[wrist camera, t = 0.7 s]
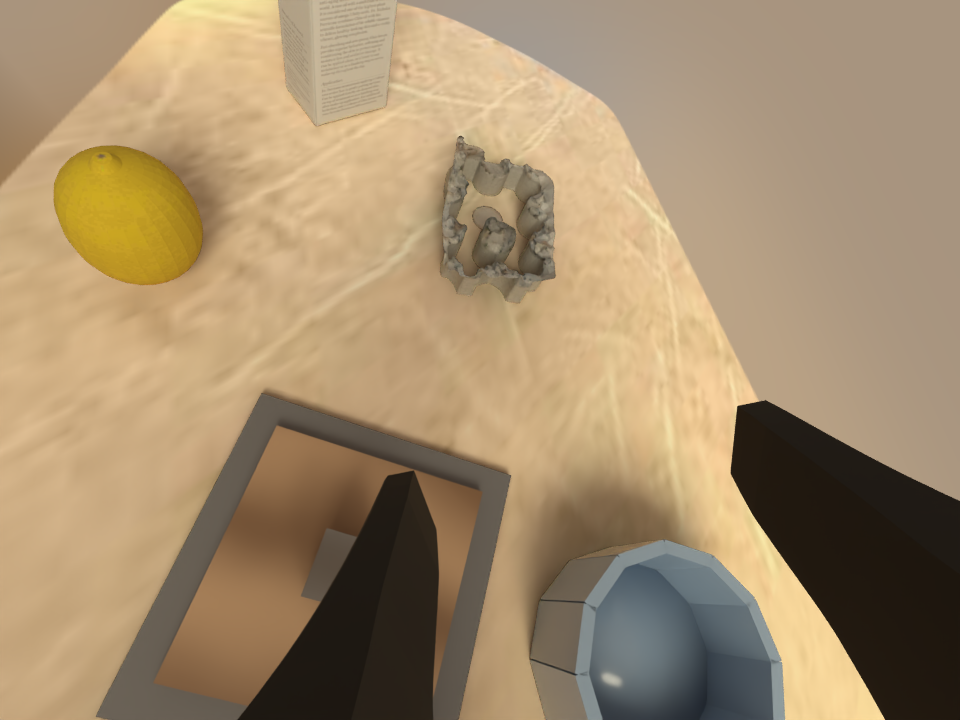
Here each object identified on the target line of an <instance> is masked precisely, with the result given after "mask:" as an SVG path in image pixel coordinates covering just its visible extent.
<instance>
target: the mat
mask: <svg viewBox="0 0 960 720" xmlns="http://www.w3.org/2000/svg"><path fill="white" fill-rule="evenodd" d="M276 426H280V427H283V428H286V429H290V430H293V431H296V432H299V433H302V434H305V435H308V436H311V437H314V438H317V439H321V440H324V441H327V442H330V443H333V444H336V445H339V446H342V447H345V448H348V449H352V450H355V451H358V452H361V453H364V454H367V455H370V456H373V457H376V458H379V459H383V460H386V461H389V462H392V463H395V464H398V465H401V466H404V467H407V468H410V469H414V470H417V471H420V472H423V473H426V474H429V475H432V476H435V477H438V478H441V479H445V480H448V481H451V482H454V483H457V484H460V485H463V486H466V487H469V488H472V489H476V490H479V491H482V492H483V493H482V497H481V501H480V505H479V509H478V513H477V518H476V522H475V526H474V530H473V534H472V538H471V542H470V547H469V551H468V555H467V559H466V563H465V567H464V572H463V576H462V580H461V584H460V588H459V592H458V597H457V601H456V605H455V609H454V613H453V617H452V621H451V626H450V630H449V634H448V638H447V642H446V646H445V651H444V655H443V659H442V663H441V667H440V671H439V676H438V680H437V684H436V688H435V692H434V696H433V720H458V719H459V715H460V710H461V705H462V701H463V696H464V691H465V687H466V682H467V677H468V673H469V668H470V664H471V659H472V654H473V650H474V645H475V640H476V636H477V631H478V626H479V622H480V617H481V613H482V608H483V603H484V599H485V594H486V589H487V585H488V580H489V575H490V571H491V566H492V562H493V557H494V552H495V548H496V543H497V538H498V534H499V529H500V524H501V520H502V515H503V510H504V506H505V501H506V497H507V492H508V487H509V483H510V478H511V475H508V474H505V473H502V472H499V471H496V470H493V469H490V468H487V467H484V466H481V465H478V464H475V463H472V462H469V461H466V460H463V459H460V458H457V457H454V456H451V455H448V454H445V453H441V452H438V451H435V450H432V449H429V448H426V447H423V446H420V445H417V444H414V443H411V442H408V441H405V440H402V439H399V438H396V437H393V436H390V435H387V434H384V433H381V432H378V431H375V430H372V429H369V428H366V427H363V426H360V425H357V424H354V423H351V422H348V421H345V420H342V419H339V418H336V417H332V416H329V415H326V414H323V413H320V412H317V411H314V410H311V409H308V408H305V407H302V406H299V405H296V404H293V403H290V402H287V401H284V400H281V399H278V398H275V397H272V396H269V395H266V394H263V393H262V394H261V396H260V398H259V400H258V401H257V403H256V405H255V407H254V409H253V411H252V413H251V415H250V417H249V419H248V421H247V423H246V425H245V427H244V429H243V431H242V433H241V435H240V437H239V438H238V440H237V442H236V444H235V446H234V448H233V450H232V452H231V454H230V456H229V458H228V460H227V462H226V464H225V466H224V468H223V470H222V472H221V474H220V475H219V477H218V479H217V481H216V483H215V485H214V487H213V489H212V491H211V493H210V495H209V497H208V499H207V501H206V503H205V505H204V507H203V509H202V510H201V512H200V514H199V516H198V518H197V520H196V522H195V524H194V526H193V528H192V530H191V532H190V534H189V536H188V538H187V540H186V542H185V544H184V546H183V547H182V549H181V551H180V553H179V555H178V557H177V559H176V561H175V563H174V565H173V567H172V569H171V571H170V573H169V575H168V577H167V579H166V581H165V583H164V584H163V586H162V588H161V590H160V592H159V594H158V596H157V598H156V600H155V602H154V604H153V606H152V608H151V610H150V612H149V614H148V616H147V618H146V619H145V621H144V623H143V625H142V627H141V629H140V631H139V633H138V635H137V637H136V639H135V641H134V643H133V645H132V647H131V649H130V651H129V653H128V655H127V656H126V658H125V660H124V662H123V664H122V666H121V668H120V670H119V672H118V674H117V676H116V678H115V680H114V682H113V684H112V686H111V688H110V690H109V691H108V693H107V695H106V697H105V699H104V701H103V703H102V705H101V707H100V709H99V711H98V713H97V715H96V717H100V718H104V719H108V720H237V719H238V718H239V717H240V715H241V714H242V713H243V712H244V710H245V709H246V708H247V707H248V706H246V705H242V704H238V703H233V702H229V701H225V700H221V699H217V698H213V697H209V696H204V695H200V694H196V693H192V692H188V691H184V690H179V689H175V688H171V687H167V686H163V685H159V684H155V683H153V682H154V680H155V678H156V676H157V674H158V672H159V670H160V667H161V665H162V663H163V661H164V659H165V657H166V655H167V653H168V651H169V649H170V647H171V645H172V642H173V640H174V638H175V636H176V634H177V632H178V630H179V628H180V626H181V624H182V622H183V620H184V617H185V615H186V613H187V611H188V609H189V607H190V605H191V603H192V601H193V599H194V597H195V595H196V592H197V590H198V588H199V586H200V584H201V582H202V580H203V578H204V576H205V574H206V572H207V570H208V567H209V565H210V563H211V561H212V559H213V557H214V555H215V553H216V551H217V549H218V547H219V545H220V542H221V540H222V538H223V536H224V534H225V532H226V530H227V528H228V526H229V524H230V522H231V520H232V517H233V515H234V513H235V511H236V509H237V507H238V505H239V503H240V501H241V499H242V497H243V495H244V492H245V490H246V488H247V486H248V484H249V482H250V480H251V478H252V476H253V474H254V472H255V470H256V467H257V465H258V463H259V461H260V459H261V457H262V455H263V453H264V451H265V449H266V447H267V444H268V442H269V440H270V438H271V436H272V434H273V432H274V430H275V428H276Z"/></svg>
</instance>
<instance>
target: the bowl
mask: <svg viewBox="0 0 960 720" xmlns="http://www.w3.org/2000/svg"><path fill="white" fill-rule="evenodd" d="M540 600H541V601H539V605H538V611H537V617H536V623H535V629H534V635H533V641H532V647H531V653H530V658H531V659H530V662H531V666H532V670H533V674H534V677H535V681H536V685H537V689H538V693H539V696H540V700H541V704H542V708H543V711H544V715H545V719H546V720H785V709H784V689H783V670H782V662H779V661H781V658H780V655H779V653H778V651H777V648H776V646H775V644H774V641H773V639H772V637H771V634H770V632H769V629H768V627H767V625H766V622H765V620H764V618H763V615H762V613H761V611H760V608H759V606H758V604H757V601H756V599H754V597H753V595H752V594H751V593H750V592H749V591H748V590H747V589H746V588H745V587H744V586H743V585H742V584H741V583H740V582H739V581H738V580H737V579H736V578H735V577H734V576H733V575H732V574H731V573H730V572H729V571H728V570H727V569H726V568H725V567H724V566H723V565H722V564H721V563H720V562H719V561H718V560H717V559H716V558H715V557H714V556H712V555H711V554H708V553H705V552H702V551H699V550H696V549H693V548H690V547H687V546H683V545H680V544H677V543H674V542H671V541H668V540H665V539H663V540H656V541H649V542H642V543H635V544H628V545H622V546H615V547H609V548H606V549H603V550H600V551H597V552H593V553H590V554H587V555H584V556H581V557H578V558H575V559H572V560H570V561H569V562H568V563H567V564H566V566H565V567H564V568H563V569H562V571H561V572H560V573H559V575H558V576H557V577H556V579H555V580H554V581H553V583H552V584H551V585H550V586H549V588H548V589H547V590H546V592H545V593H544V594H543V596H542V597H541V598H540Z"/></svg>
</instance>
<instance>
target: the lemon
mask: <svg viewBox="0 0 960 720" xmlns="http://www.w3.org/2000/svg"><path fill="white" fill-rule="evenodd" d="M54 206H55V210H56V214H57V216H58V219H59V222H60V224H61V227H62V229H63V232H64V234H65V236H66V237H67V239H68V241H69V242H70V243H71V244H72V246H73V247H74V248H75V249H76V250H77V252H78V253H79V254H80V255H81V256H82V257H83V258H84V259H85V260H86V261H87V262H88V263H89V264H90V265H92V266H93V267H95V268H96V269H98V270H99V271H101V272H102V273H104V274H106V275H107V276H109V277H112V278H115V279H117V280H120V281H123V282H126V283H132V284H138V285H155V284H160V283H164V282H168V281H170V280H173V279H175V278H177V277H179V276H181V275H182V274H183V273H185V272H186V271H188V269H189V268H190V267H191V266H192V265H193V263H194V262H195V261H196V259H197V257H198V254H199V252H200V250H201V247H202V236H203V228H202V222H201V219H200V215H199V212H198V209H197V206H196V204H195V202H194V200H193V198H192V196H191V195H190V193H189V192H188V190H187V189H186V187H185V186H184V184H183V183H182V182H181V180H180V179H179V178H178V177H177V176H176V175H175V173H174V172H172V171H171V170H170V169H169V168H168V167H167V166H165V165H164V164H163V163H162V162H161V161H159V160H157V159H156V158H154V157H152V156H150V155H148V154H146V153H144V152H141V151H138V150H135V149H132V148H128V147H122V146H98V147H93V148H89V149H87V150H84V151H82V152H79V153H78V154H76V155H75V156H73V157H71V158H70V159H69V160H68V161H67V162H66V163H65V165H64V166H63V167H62V168H61V169H60V171H59V173H58V175H57V178H56V180H55V183H54Z"/></svg>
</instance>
